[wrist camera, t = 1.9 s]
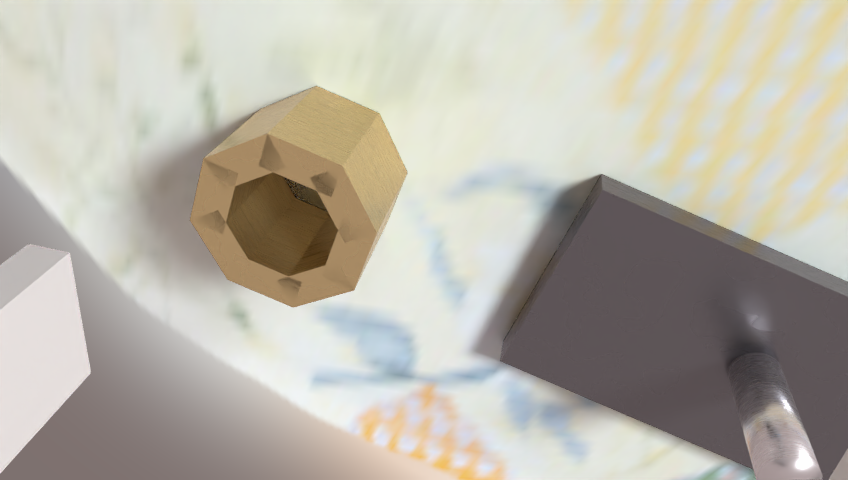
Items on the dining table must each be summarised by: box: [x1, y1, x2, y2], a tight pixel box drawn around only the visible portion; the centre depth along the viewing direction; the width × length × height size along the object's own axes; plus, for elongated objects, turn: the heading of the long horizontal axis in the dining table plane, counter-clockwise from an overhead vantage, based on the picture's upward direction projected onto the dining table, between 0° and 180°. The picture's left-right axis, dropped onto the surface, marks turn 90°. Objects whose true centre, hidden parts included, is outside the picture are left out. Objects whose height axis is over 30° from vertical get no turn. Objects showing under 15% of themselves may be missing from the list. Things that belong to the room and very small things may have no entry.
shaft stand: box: [500, 174, 848, 480], centre depth 29 cm, size 20×10×8 cm, turn 69°
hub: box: [190, 86, 407, 307], centre depth 29 cm, size 7×7×6 cm
